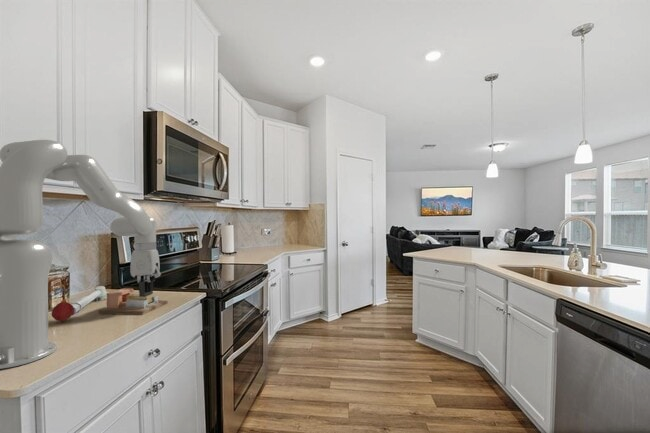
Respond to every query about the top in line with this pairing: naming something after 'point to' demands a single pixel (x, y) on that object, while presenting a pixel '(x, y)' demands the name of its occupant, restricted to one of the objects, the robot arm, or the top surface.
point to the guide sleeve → (141, 303)
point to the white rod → (90, 298)
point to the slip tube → (142, 293)
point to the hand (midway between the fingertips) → (146, 291)
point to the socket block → (118, 297)
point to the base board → (132, 309)
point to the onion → (62, 311)
